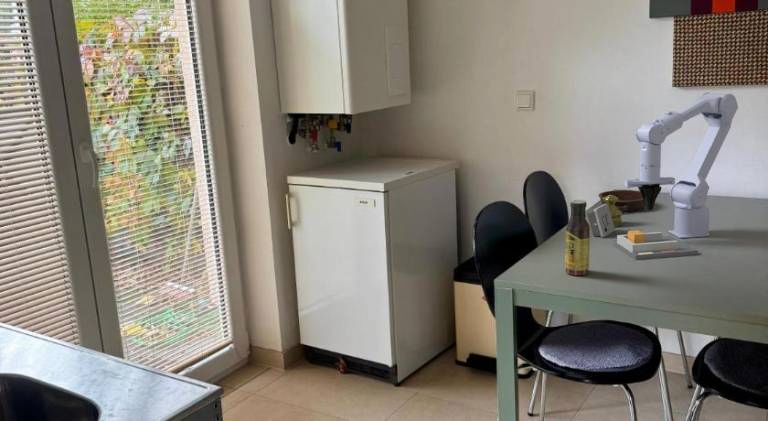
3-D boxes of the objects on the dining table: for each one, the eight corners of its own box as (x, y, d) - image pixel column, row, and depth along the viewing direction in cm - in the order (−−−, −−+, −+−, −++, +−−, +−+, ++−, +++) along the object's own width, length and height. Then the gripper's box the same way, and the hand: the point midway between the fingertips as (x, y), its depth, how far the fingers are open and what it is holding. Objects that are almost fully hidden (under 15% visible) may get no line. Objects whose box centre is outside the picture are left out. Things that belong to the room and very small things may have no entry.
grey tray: (670, 239, 217) (671, 228, 216) (697, 254, 201) (697, 242, 200) (612, 244, 215) (612, 233, 215) (635, 259, 200) (635, 247, 199)
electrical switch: (603, 238, 222) (601, 209, 220) (587, 238, 225) (585, 209, 224) (615, 231, 229) (612, 203, 228) (599, 231, 232) (597, 203, 231)
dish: (592, 213, 254) (592, 199, 253) (605, 200, 273) (605, 187, 272) (643, 216, 246) (644, 202, 245) (653, 202, 264) (653, 189, 263)
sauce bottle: (561, 270, 195) (561, 199, 190) (584, 268, 195) (584, 197, 191) (570, 277, 188) (570, 204, 184) (593, 275, 189) (593, 202, 184)
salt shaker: (597, 227, 235) (597, 197, 233) (599, 221, 242) (600, 192, 240) (621, 228, 233) (621, 198, 230) (622, 222, 239) (623, 193, 237)
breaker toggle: (637, 244, 210) (637, 230, 209) (644, 248, 205) (644, 234, 204) (627, 244, 210) (627, 230, 209) (634, 249, 205) (634, 234, 204)
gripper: (667, 160, 215) (666, 204, 218) (620, 164, 214) (620, 208, 217) (679, 164, 208) (677, 210, 211) (630, 168, 207) (629, 213, 210)
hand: (649, 209), depth 214 cm, fingers closed
